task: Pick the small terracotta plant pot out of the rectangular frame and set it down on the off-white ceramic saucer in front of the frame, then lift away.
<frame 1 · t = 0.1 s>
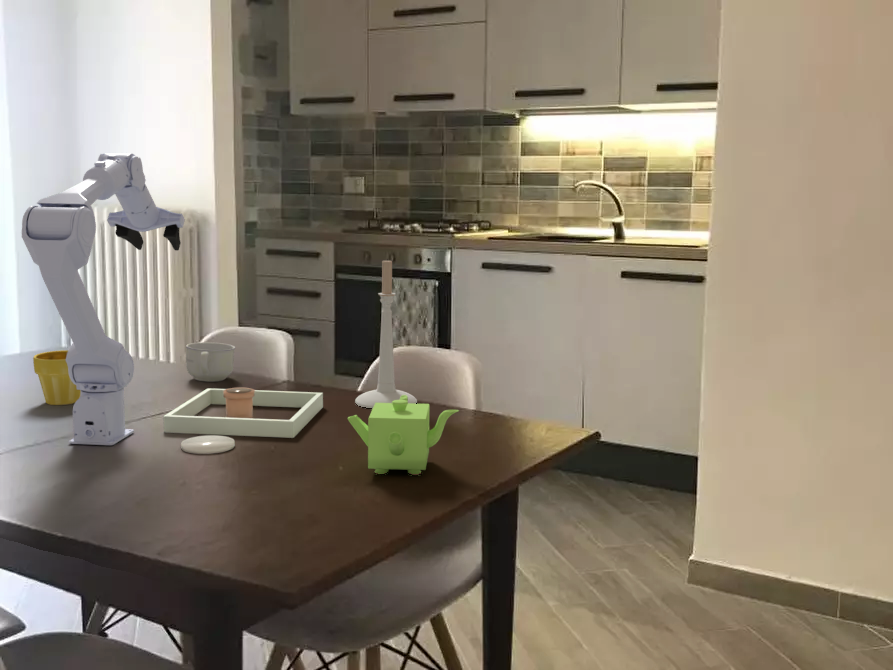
hand: (159, 246, 200), 32 cm above the table, tool tilted 50°, fingers open, 7 cm apart
teacup: (208, 381, 227), on the table
saucer: (208, 446, 173), on the table
plant pot: (63, 402, 204), on the table
candlestick: (386, 403, 208), on the table
kettle: (403, 468, 163), on the table
terracotta pot: (239, 421, 191), resting in rectangular frame
rectangular frame: (247, 419, 192), on the table
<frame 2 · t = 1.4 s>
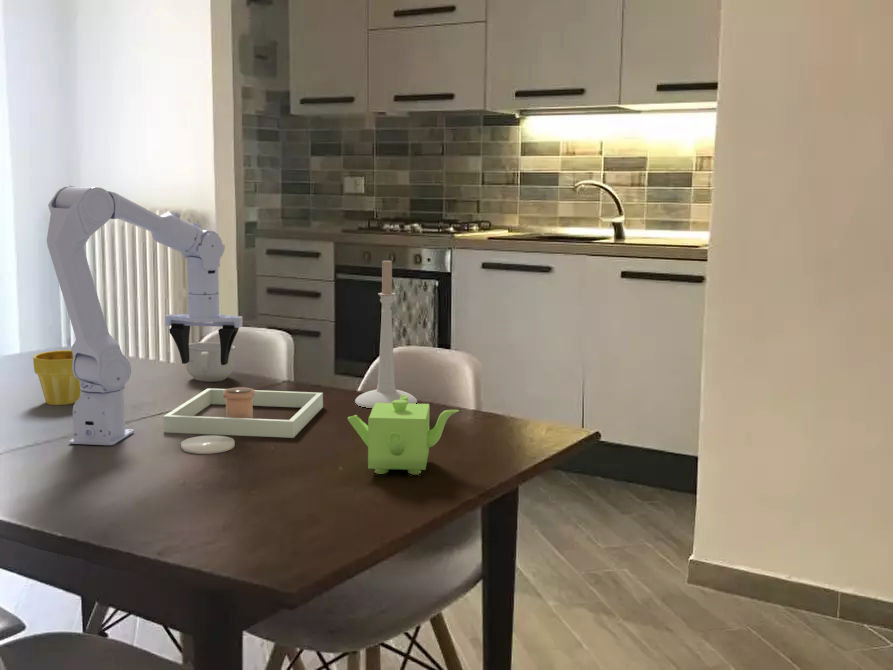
hand: (205, 363, 192), 10 cm above the table, tool pointing down, fingers open, 7 cm apart
nothing on the table moved.
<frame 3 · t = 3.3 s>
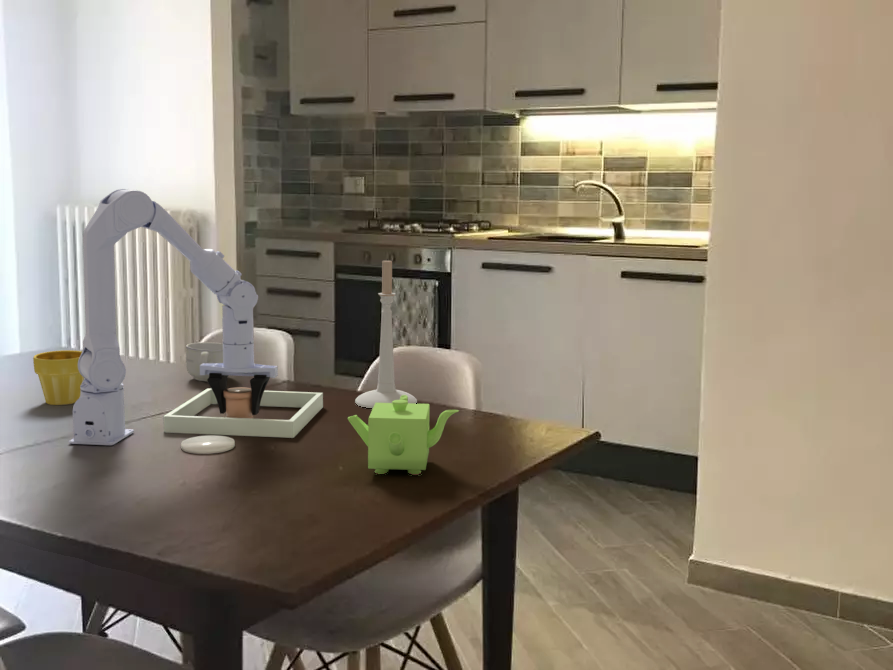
hand: (239, 413, 190), 2 cm above the table, tool pointing down, fingers closed on terracotta pot, 6 cm apart
terracotta pot: (239, 421, 191), resting in rectangular frame, touching gripper
everything else where it was.
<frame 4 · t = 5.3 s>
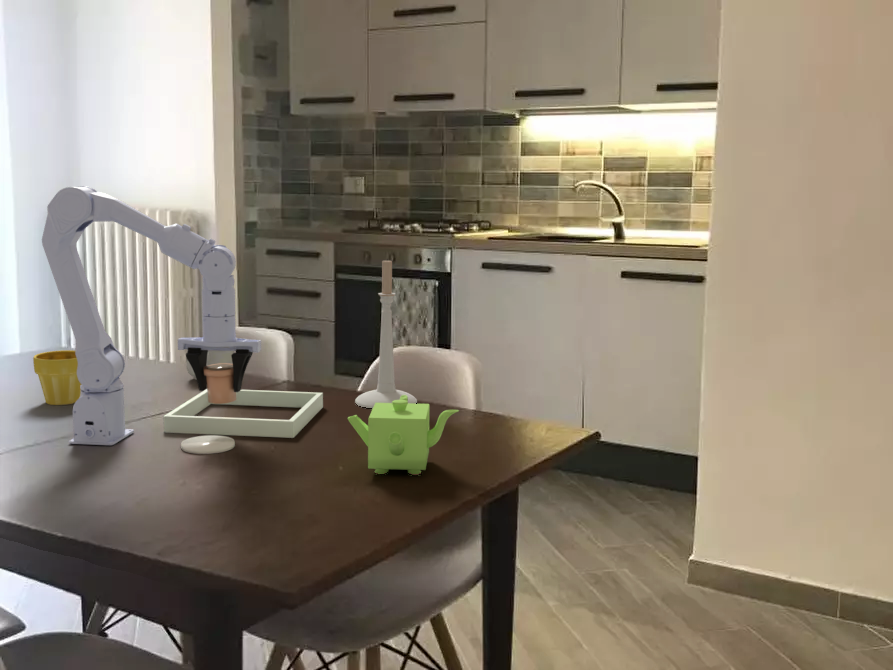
hand: (220, 390, 179), 8 cm above the table, tool pointing down, fingers closed on terracotta pot, 6 cm apart
terracotta pot: (222, 399, 180), point 7 cm above the table, touching gripper
everything else where it was.
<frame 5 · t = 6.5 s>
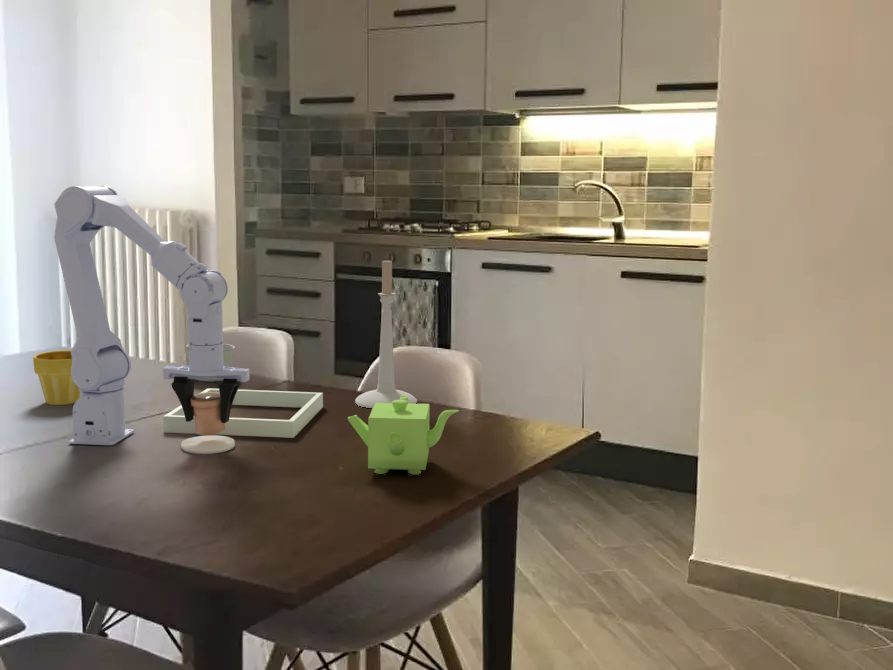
hand: (207, 421, 172), 5 cm above the table, tool pointing down, fingers closed on terracotta pot, 6 cm apart
terracotta pot: (210, 430, 173), point 3 cm above the table, tilted 6°, touching gripper
everything else where it was.
when the fingers open (4 cm above the table, at t = 7.3 s): terracotta pot stays where it is, resting on saucer.
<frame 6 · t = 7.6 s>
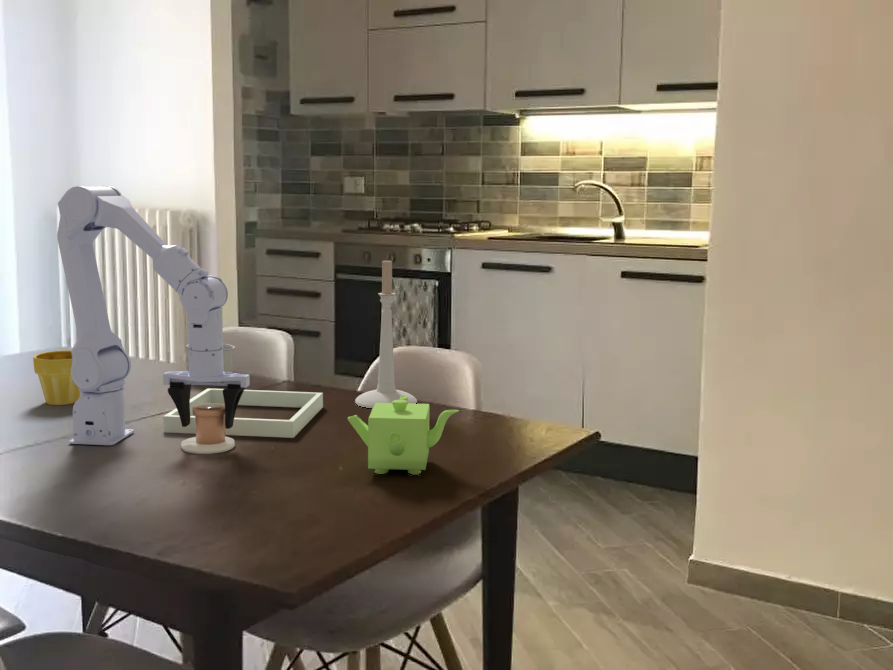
hand: (207, 426, 172), 4 cm above the table, tool pointing down, fingers open, 7 cm apart
terracotta pot: (210, 440, 174), point 1 cm above the table, touching saucer
everything else where it was.
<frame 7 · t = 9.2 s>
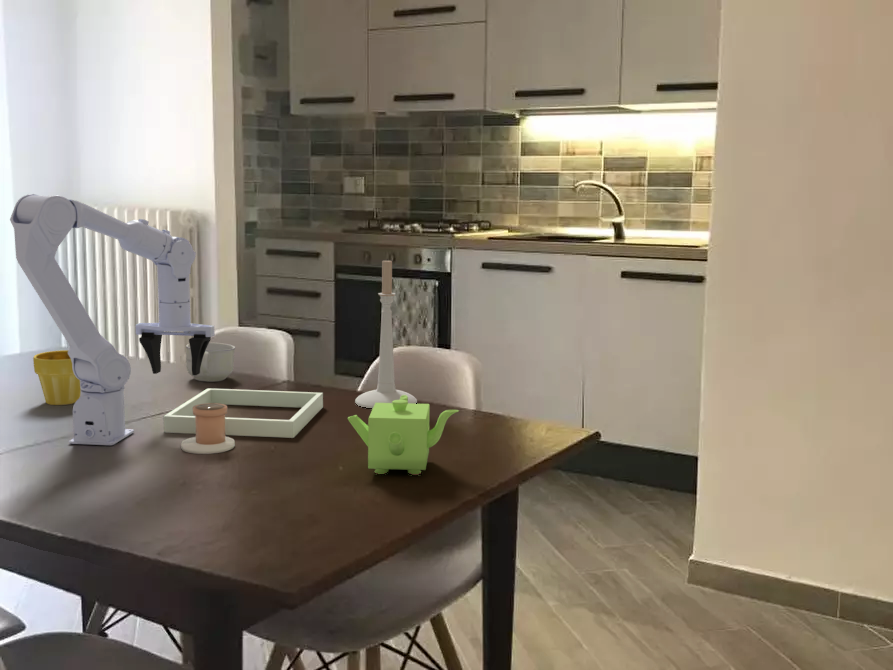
hand: (176, 373, 187), 9 cm above the table, tool pointing down, fingers open, 7 cm apart
nothing on the table moved.
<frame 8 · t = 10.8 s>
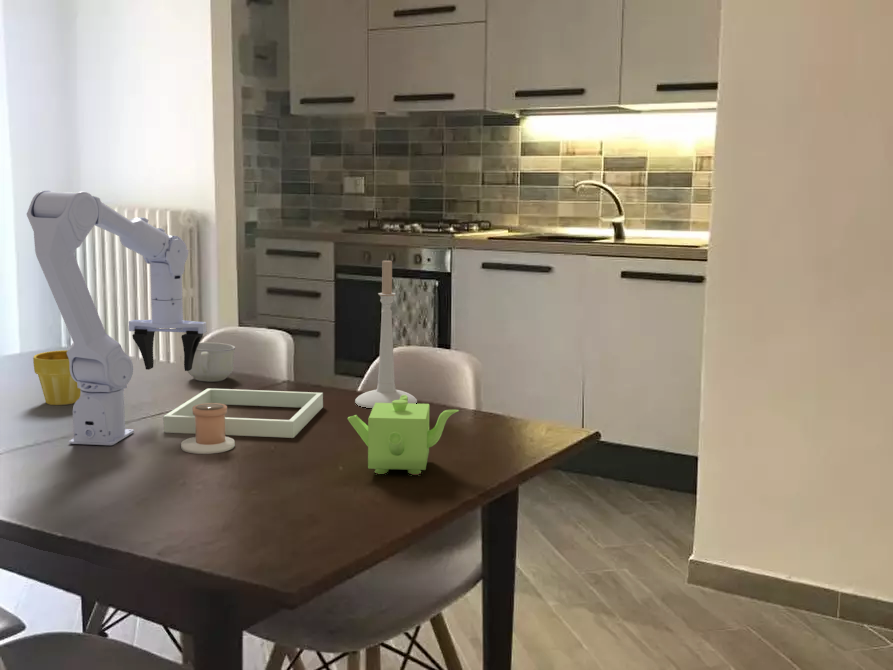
hand: (168, 369, 191), 9 cm above the table, tool pointing down, fingers open, 7 cm apart
nothing on the table moved.
at the end: terracotta pot 0.9 cm off-centre on the saucer, point 0.8 cm above the saucer's base; terracotta pot tilted 0°; the gripper is holding nothing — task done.
